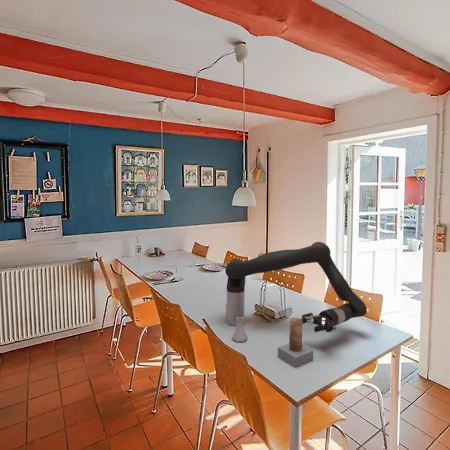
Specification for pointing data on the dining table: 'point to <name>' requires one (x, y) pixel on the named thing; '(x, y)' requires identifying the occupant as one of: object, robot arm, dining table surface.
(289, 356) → the slate plinth
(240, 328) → the flask
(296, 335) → the walnut cylinder
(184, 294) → the dining table surface
